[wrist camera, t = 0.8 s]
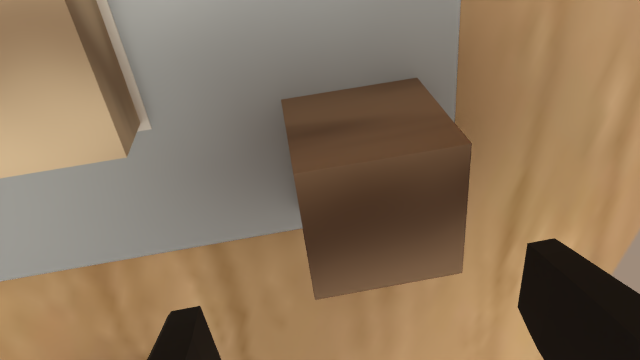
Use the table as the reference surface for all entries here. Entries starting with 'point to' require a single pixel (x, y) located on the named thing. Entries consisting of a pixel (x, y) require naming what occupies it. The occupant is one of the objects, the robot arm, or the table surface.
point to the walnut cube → (378, 186)
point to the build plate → (216, 122)
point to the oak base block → (60, 88)
